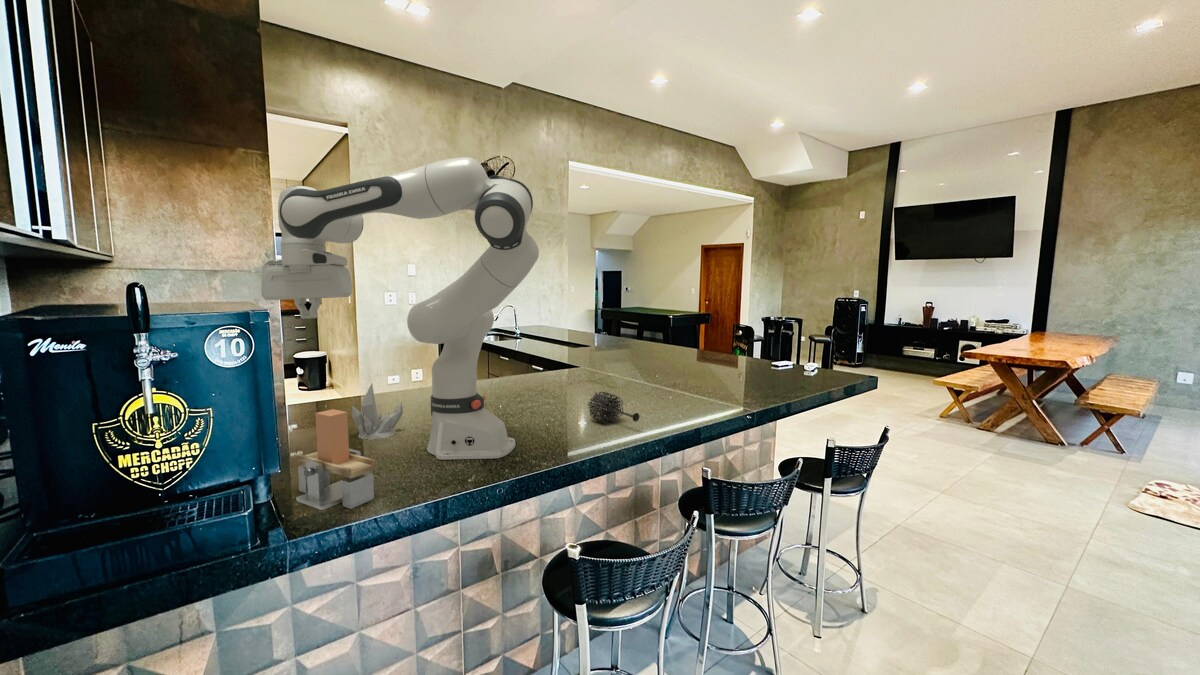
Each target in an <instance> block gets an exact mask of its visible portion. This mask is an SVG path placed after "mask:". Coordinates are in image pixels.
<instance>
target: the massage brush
mask: <svg viewBox="0 0 1200 675" xmlns="http://www.w3.org/2000/svg"><path fill="white" fill-rule="evenodd" d="M623 403H624V402H623V400H622V399H621V398H620V397H619V396H618V395H615V394H613V393H610V392H605V391H599V392H594V394H593V397H590V401H588V403H587V404H586V405H587V406H588V411H589V414H588V415H589V416H590V417H592V419H593V420H595V421H597V422H598V421H599V422H600V423H604V424H608V425H611V424H612V425H613V424H616V423H618V421H619V419H620V417H621V416H622V415H625V416H627V417H630V418H632V420H633V422H638V421H639V420H640V414H639V413H638V412H635V413H633V414H631V413H628V412H624V408H623Z"/></svg>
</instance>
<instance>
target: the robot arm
mask: <svg viewBox="0 0 1200 675" xmlns="http://www.w3.org/2000/svg"><path fill="white" fill-rule="evenodd" d="M533 202H534V201H533V195H532V193H531V191H530V189H529V188H528V187H527V185H526V184H524V183H523V182H521V181H519V180H518V179H514V178H509V177H504V176H500V175H498V174H497V175H496V174H493V175H490V176H488V173H487V172H486V170H485V168H484V167H483V165H482V164H481V163H480V162H479V161H478V160H477V159H475V158H474V157H469V156H461V157H452V158H446V159H441V160H437V161H435V162H429V163H427V164H424V165H421V166H418V167H415V168H411V169H408V170H405V171H400V172H396V173H393V174H388V175H385V176H382V177H381V176H380V177H377V178H369V179H365V180H362V181H356V182H352V183H348V184H345V185H344V184H343V185H339V186H336V187H332V188H327V189H321V190H317V189H316V188H314V187H311V186H308V185H307V186H306V185H295V186H294V185H293V186H288V187H286V188H284V189H282V190H281V191H280V194H279V197H278V205H277V207H278V208H277V214H278V216H277V217H278V218H277V219H278V227H279V230H280V233H281V240H280V253H281V254H280V255H281V259H279V260H267V262H265V263H264V264H263V265H262V266H261V273H262V274H261V285H260V286H261V288H260V289H261V290H260V292H261V297H262V298H263V299H264V300H266V301H279V300H280V301H282V300H284V301H285V300H294V301H293V302H294V303H293V304H294V305H295V307H296V308H297V310H298V311H299V314H300V315H299V316H300V319H301V320H302V319H317V318H318V311H319V310H318V309H319V308H320V306H321V304H322V301H321V300H322V299H331V298H332V299H336V298H349V297H351V295H352V293H353V284H352V277H351V274H350V273H351V272H350V270H349V269H348V268H347V267H346V266H348V259H347V257H345V256H341V255H338V254H336V253H332V252H330V251H329V252H328V251H326V242H329V243H336V244H350V243H353V242H356V241H357V240H358V239H359V238H360V236H361V234H362V233H363V230H364V218H363V216H364V215H367V214H373V213H374V214H375V213H378V214H379V213H381V214H382V213H383V214H392V215H398V216H402V217H407V218H412V219H418V220H421V219H432V218H434V219H435V218H439V217H443V216H446V215H450V214H452V213H455V212H458V211H465V210H470V211H474V223H475V225H476V228H477V229H478V231H479V233H480V235H482V237H483V238H485V240H487V242H488V243H489V247H487V249H486V250H485V251H484V252H483V253H482V254H481V256H480V257H478V258H477V260H476V261H475V262H474V263H473V264H472V265H471V266H470V267H469V268H468V269H467V270H466V271H465V272H464V274H462V275H461V276H460V277H459V278H457V279H456V280H455V281H453V282H452V283H450V284H449V285H448V286H446V287H444V288H443V289H442V290H440V291H439V292H437V293H436V294H434V295H433V296H431V297H429V298H427V299H425V300H423V301H421V302H419V303H416V304H414V305H413V306H411V309H410V310H409V312H408V315H407V320H406V322H407V328H408V331H409V333H410V335H411V336H412V337H413V339H414V340H416V341H417V342H419V343H424V344H425V343H426V344H431V345H432V344H433V345H440V344H443V348H442V351H441V353H440V355H439V356H438V357H437V359H436V360H434V362H433V363H432V366H431V388H432V389H431V391H432V392H431V395H430V415H431V427H430V435H429V440H428V444H427V447H426V451H427V452H428V453H429V454H431V455H433V456H435V458H436V459H437V460H442V461H443V460H446V461H448V460H486V459H487V460H488V459H500V458H503V457H505V456H507V455H509V454H510V453H511V452H512V451H513V450H514V449H515V448H516V444H517V443H516V440H515V438H514V437H510V436H509V437H508V432H507V429H506V425H505V422H504V421H503V420H502V419H500V418H499V417H497V416H496V415H495V414H493V413H492V412H490V411H489V410H488V409H487V408H485V401H486V400H487V398H486V395H484V396H481V395H480V394H479V393H478V391H477V389H478V388H477V386H478V385H477V383H478V382H477V375H478V373H477V372H478V360H479V355H480V352H481V349H482V345H483V344H484V340H485V338H486V336H487V334H488V333H489V332H490V331H491V330H492V328H493V325H494V321H495V320H494V319H495V318H494V313H493V310H494V309H496V308H497V307H498V306H499V305H500V304H502V302H504V300H506V298H508V296H509V295H510V294H511V293H512V292H513V291H514V290H515V289H516V288H517V287H518V286H519V285H520V284H521V283H522V281H523V280H524V279H525V278H526V277H527V276H528V274H530V271H532V269H533V268H534V265H535V264H536V263H537V261H538V259H539V256H540V250H539V247H538V244H537V242H536V241H535V239H534V238H533V237H532V236H531V235H530V234H529V233H528V232H527V228H526V227H527V224H528V222H529V220H530V216H531V214H532V211H533V207H534V203H533ZM307 299H309V301H308V302H309V304H311V306H310V308H309V310H308V309H307V307H306V305H305V304H307Z"/></svg>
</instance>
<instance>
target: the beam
mask: <svg viewBox="0 0 1200 675" xmlns="http://www.w3.org/2000/svg"><path fill="white" fill-rule="evenodd" d="M293 458H294V460H297V463H300V464H302V465H306V462H308V461H315V462H318V463H321V464H323V470H325V471H328V472H330V473H331V474H335V475H339V476H341V477H345V478H346V477H348V478H354V477H357V476H359V475H362V474H365V473H367V472H369V473H371V472H373V471H374V466H375V465H377V460H376V459H374V458H370V457H367V456H359V455H355V454H352V453H350V452H349V461H347V462H344V463H341V464H338V465H336V464H333V463H329V462H326V461H323V460H319V459H318V455H317V451H315V452H311V453H308V454H305V455H304V454H301V453H294V454H293Z"/></svg>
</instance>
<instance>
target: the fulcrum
mask: <svg viewBox="0 0 1200 675" xmlns="http://www.w3.org/2000/svg"><path fill="white" fill-rule="evenodd" d="M349 452H350V453H352V454H355V455H359V456H363V453H362V452H361V451H360V450H357V449H353V448H349ZM363 457H364V456H363ZM297 471H298V472H297V473H298V490H299V492H301V493H303V494H301V495H299V496H297V497H296V500H295V501H296V502H298V503H300V504H303V505H305V506H307V507H311V508H314V509H316V510H319V511H323V510H327V509H328V508H331V507H333V506H336V505H338V504H341V503H342V507H344V508H346V509H350V510H353V509H354V508H357V507H359V506H362V505H364V504H367V503H368V502H370V501H373V500H375V491H374V490H375V488H374V486H375V485H374V473H372V472H367V473H365V474H362V475H359V476H357V477H354V478H348V477H345V478H344V479H341V480H339V481H336V482H333V483H331V476H330V473H331V472H328V471H325V470H323V464H321V463H318V462H315V461H308V462H306V465H305V464H302V465H299V466H297Z"/></svg>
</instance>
